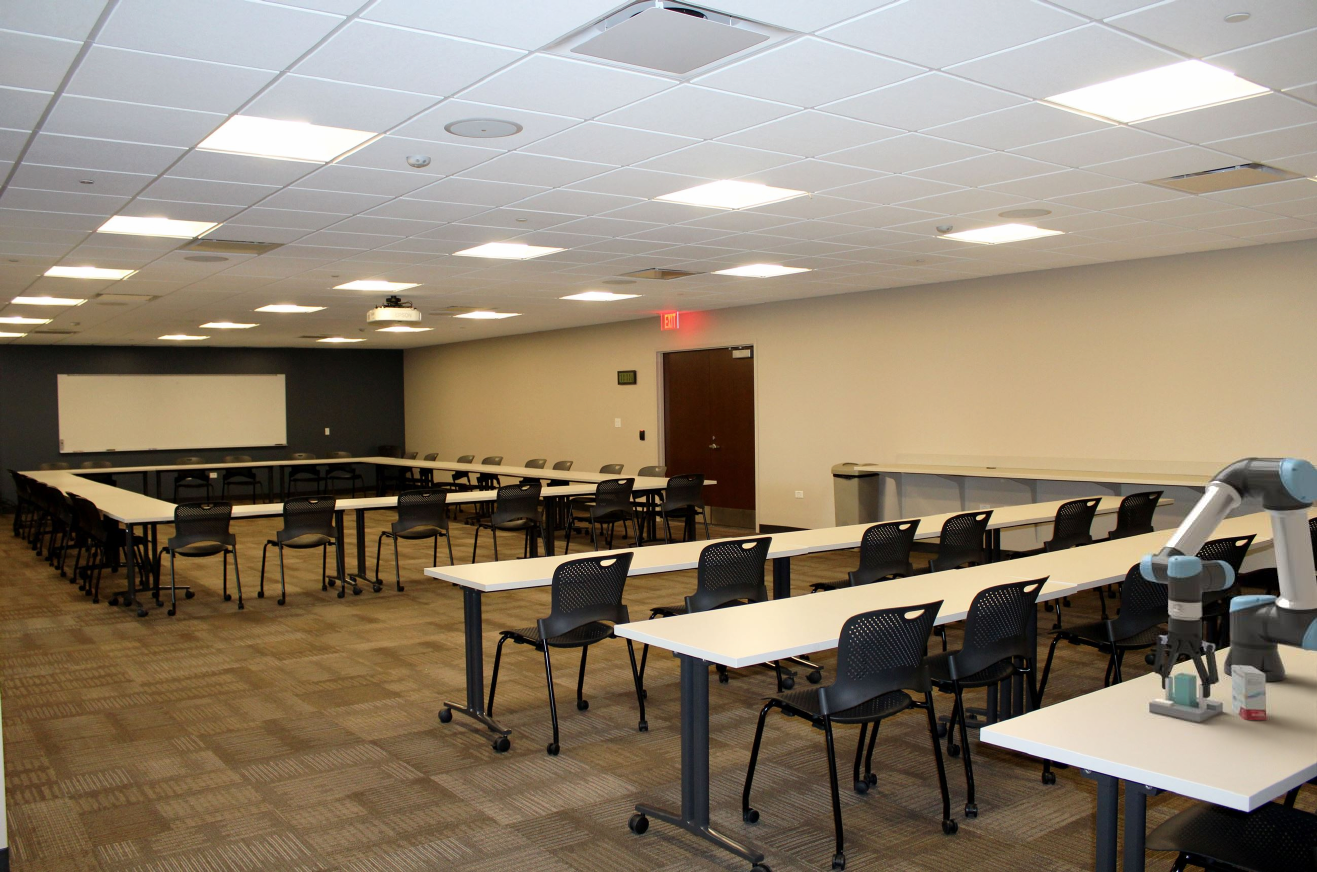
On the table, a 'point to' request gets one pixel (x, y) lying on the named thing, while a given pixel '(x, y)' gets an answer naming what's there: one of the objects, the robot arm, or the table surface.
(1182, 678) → the plug
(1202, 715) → the socket
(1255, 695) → the ink box
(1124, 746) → the table surface
